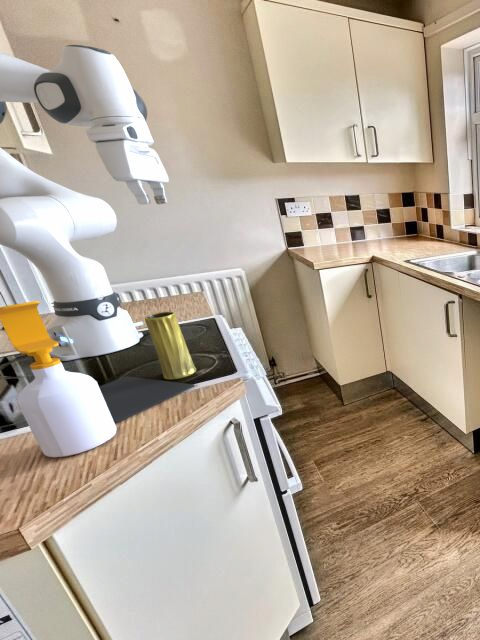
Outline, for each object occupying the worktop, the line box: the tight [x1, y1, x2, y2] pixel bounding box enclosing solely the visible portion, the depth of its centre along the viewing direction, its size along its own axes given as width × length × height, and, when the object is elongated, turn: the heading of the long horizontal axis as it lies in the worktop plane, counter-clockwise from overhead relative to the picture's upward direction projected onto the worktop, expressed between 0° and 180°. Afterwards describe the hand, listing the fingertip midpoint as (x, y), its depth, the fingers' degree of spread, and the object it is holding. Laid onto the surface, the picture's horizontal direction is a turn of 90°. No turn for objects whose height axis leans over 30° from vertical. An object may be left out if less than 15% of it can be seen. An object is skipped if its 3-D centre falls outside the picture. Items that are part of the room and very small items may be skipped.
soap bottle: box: [0, 300, 117, 458], centre depth 67 cm, size 9×9×25 cm
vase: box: [144, 311, 197, 381], centre depth 94 cm, size 6×6×14 cm
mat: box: [98, 375, 195, 424], centre depth 86 cm, size 20×15×1 cm
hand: (154, 204), depth 94 cm, fingers open, 8 cm apart
